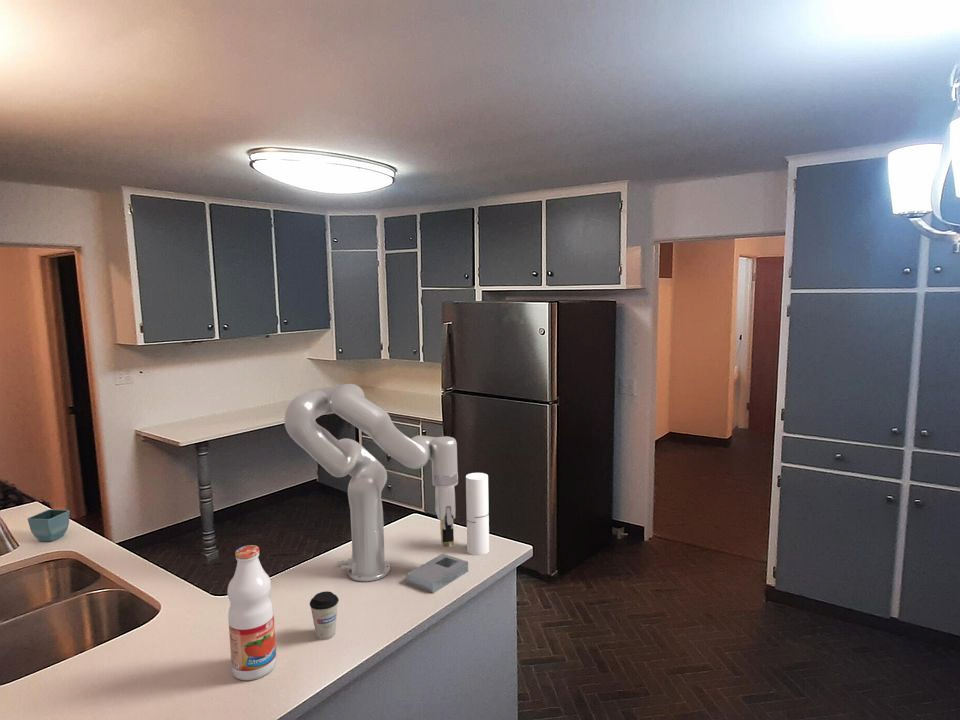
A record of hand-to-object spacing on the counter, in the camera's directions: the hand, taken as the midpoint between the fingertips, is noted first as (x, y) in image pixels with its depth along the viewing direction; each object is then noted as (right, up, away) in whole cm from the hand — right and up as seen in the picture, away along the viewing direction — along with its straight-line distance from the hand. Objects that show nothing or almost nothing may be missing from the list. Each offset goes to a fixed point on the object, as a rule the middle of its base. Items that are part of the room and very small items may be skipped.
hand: (447, 537), depth 176 cm
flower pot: (-141, -10, +30) cm, 144 cm away
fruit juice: (-41, -17, -43) cm, 62 cm away
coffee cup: (-28, -15, -30) cm, 44 cm away
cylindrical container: (+9, -9, +16) cm, 20 cm away
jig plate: (-2, -11, -2) cm, 11 cm away
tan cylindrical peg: (0, -2, 0) cm, 2 cm away
